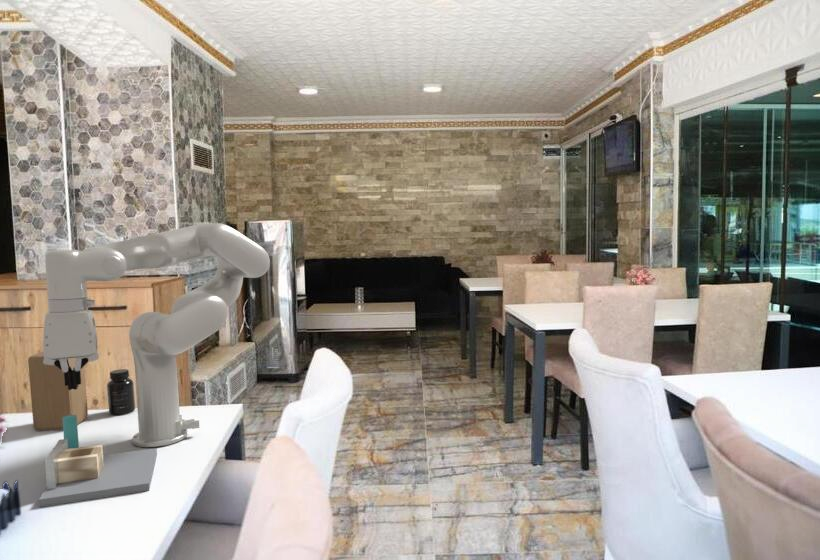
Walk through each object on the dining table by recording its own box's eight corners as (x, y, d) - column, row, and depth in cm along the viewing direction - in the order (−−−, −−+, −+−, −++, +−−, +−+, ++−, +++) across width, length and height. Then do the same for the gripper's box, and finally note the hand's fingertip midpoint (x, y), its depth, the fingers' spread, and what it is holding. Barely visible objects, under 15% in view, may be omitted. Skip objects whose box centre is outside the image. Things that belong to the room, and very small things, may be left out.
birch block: (103, 464, 126) (102, 444, 126) (98, 477, 120) (96, 456, 119) (66, 469, 124) (65, 449, 124) (58, 483, 117) (57, 461, 117)
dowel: (80, 456, 136) (77, 414, 135) (78, 461, 133) (75, 417, 132) (66, 458, 135) (63, 415, 134) (64, 462, 132) (61, 419, 131)
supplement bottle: (109, 410, 170) (106, 369, 169) (135, 407, 173) (133, 367, 172) (108, 417, 164) (105, 375, 163) (134, 413, 167) (132, 372, 166)
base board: (157, 454, 136) (156, 448, 136) (149, 490, 117) (148, 483, 117) (63, 467, 130) (63, 460, 130) (39, 507, 111) (38, 499, 111)
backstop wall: (69, 465, 126) (67, 438, 126) (56, 488, 115) (53, 459, 115) (61, 466, 126) (59, 439, 125) (47, 490, 115) (44, 460, 114)
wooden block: (52, 419, 163) (46, 348, 161) (89, 417, 164) (84, 347, 162) (32, 432, 153) (25, 356, 151) (72, 430, 154) (66, 355, 152)
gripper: (107, 302, 136) (112, 380, 137) (31, 306, 130) (37, 388, 131) (105, 306, 129) (109, 388, 130) (24, 310, 123) (30, 396, 124)
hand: (73, 388), depth 131 cm, fingers closed
